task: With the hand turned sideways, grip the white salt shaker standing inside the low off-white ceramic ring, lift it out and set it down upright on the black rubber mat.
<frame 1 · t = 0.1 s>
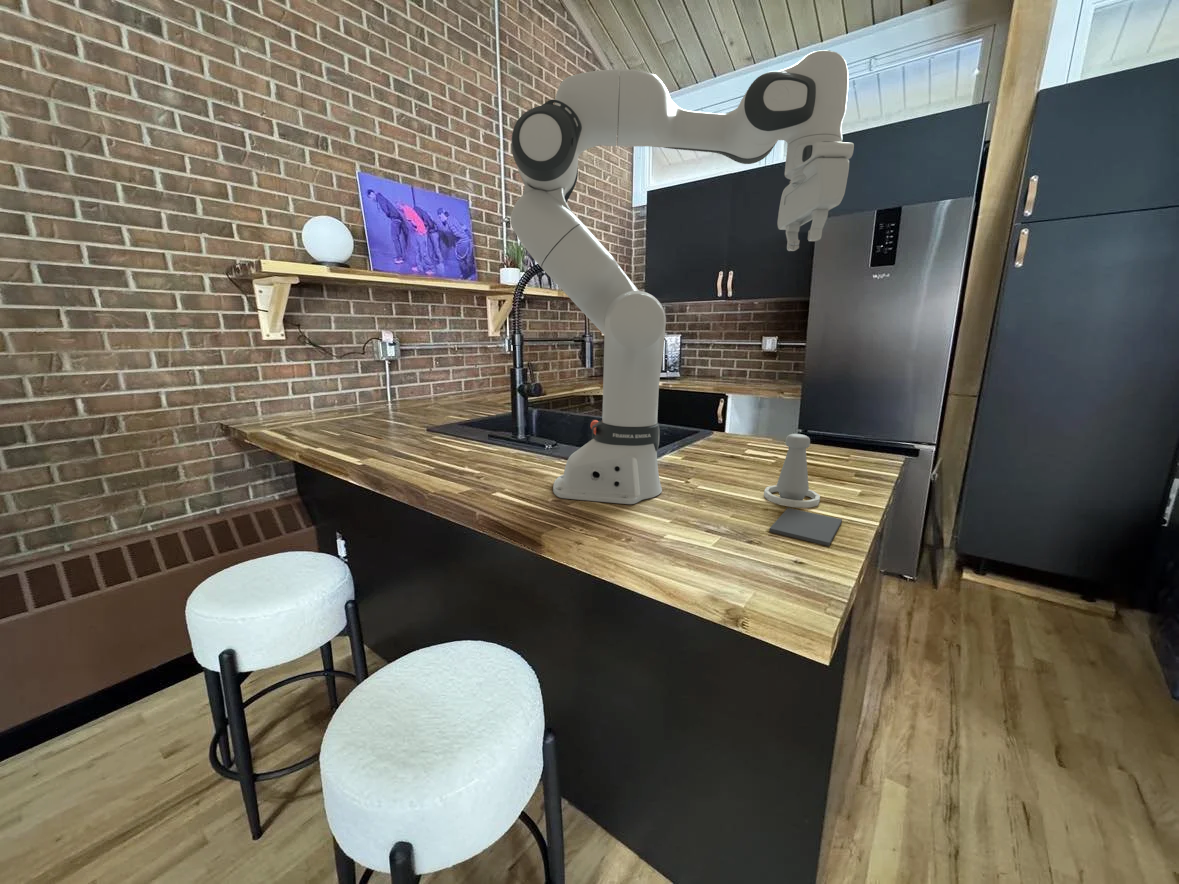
hand: (802, 245, 87), 48 cm above the countertop, tool pointing down, fingers open, 8 cm apart
rubber mat: (806, 526, 80), on the countertop
salt shaker: (791, 499, 94), resting in ceramic ring
ceramic ring: (791, 498, 94), on the countertop
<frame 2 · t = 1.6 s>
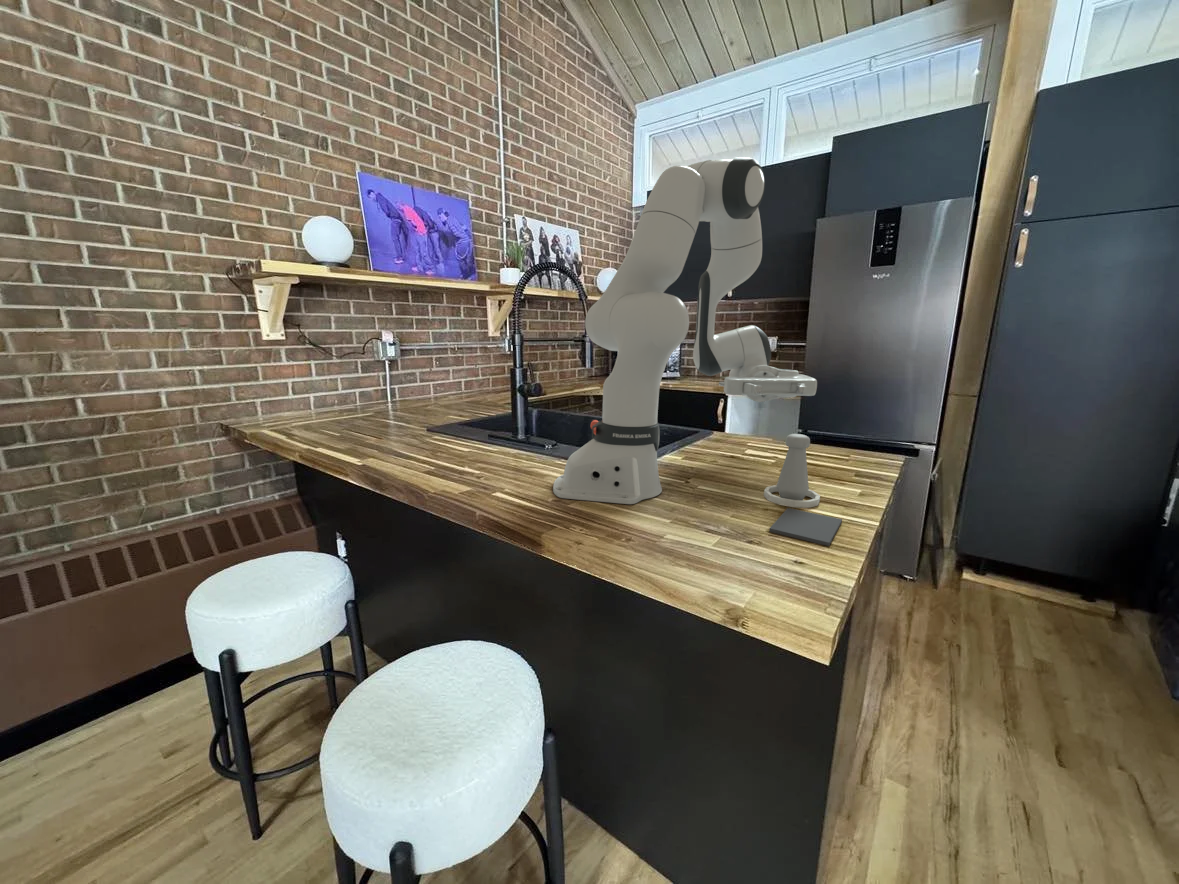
hand: (780, 390, 101), 20 cm above the countertop, tool horizontal, fingers open, 8 cm apart
nothing on the countertop moved.
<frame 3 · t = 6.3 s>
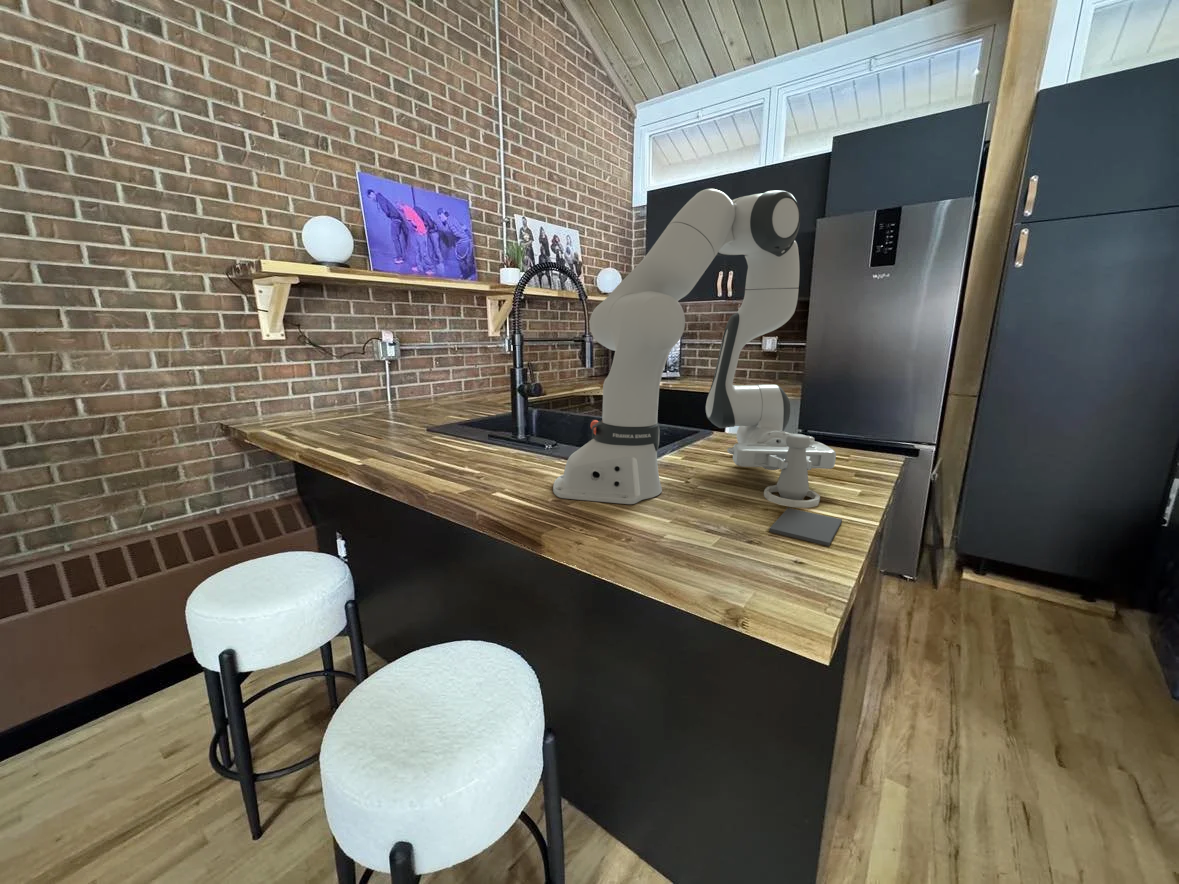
hand: (796, 465, 92), 7 cm above the countertop, tool horizontal, fingers closed on salt shaker, 3 cm apart
salt shaker: (791, 499, 94), resting in ceramic ring, touching gripper
when the fingers open (9 cm above the countertop, at t = 10.4 s): salt shaker stays where it is, resting on rubber mat.
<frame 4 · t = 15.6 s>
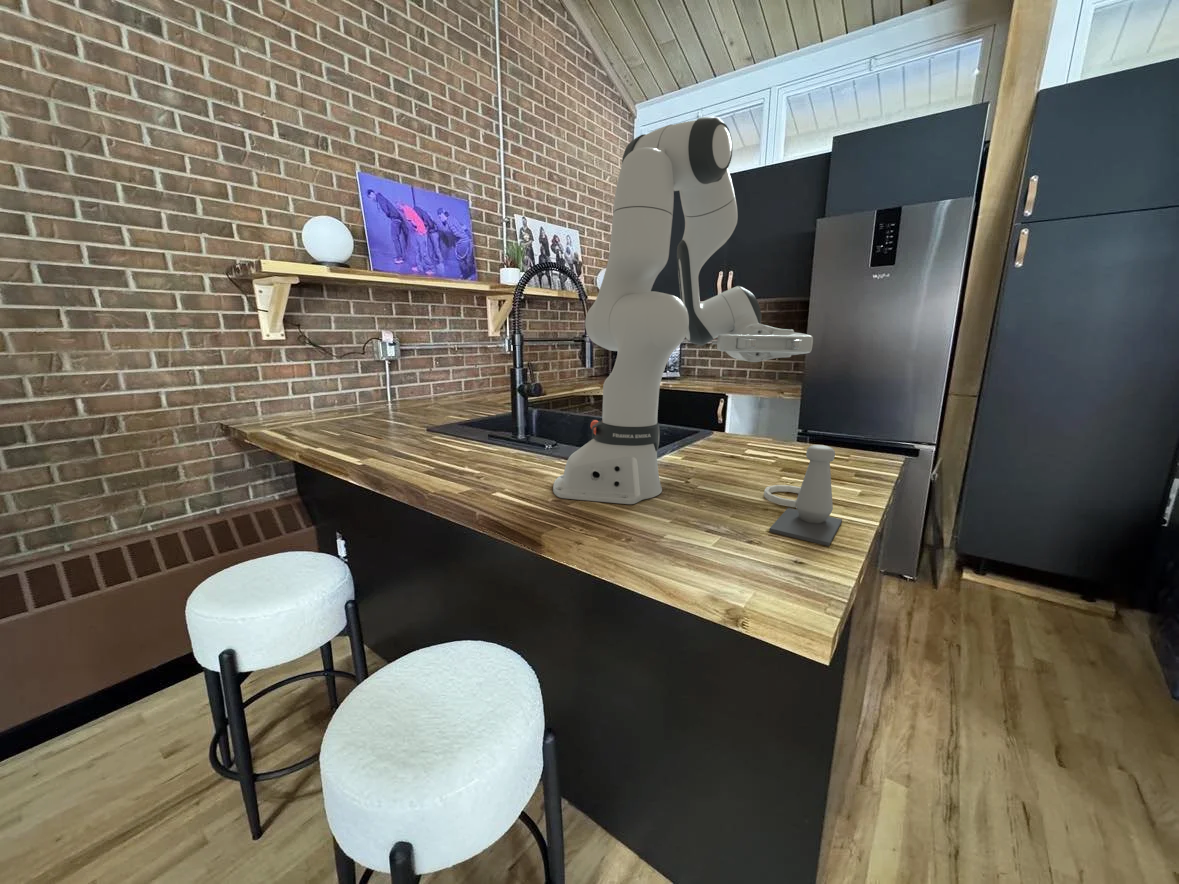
hand: (775, 344, 98), 30 cm above the countertop, tool horizontal, fingers open, 8 cm apart
salt shaker: (811, 520, 82), resting on rubber mat
at the end: salt shaker touching rubber mat; salt shaker tilted 0° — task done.
